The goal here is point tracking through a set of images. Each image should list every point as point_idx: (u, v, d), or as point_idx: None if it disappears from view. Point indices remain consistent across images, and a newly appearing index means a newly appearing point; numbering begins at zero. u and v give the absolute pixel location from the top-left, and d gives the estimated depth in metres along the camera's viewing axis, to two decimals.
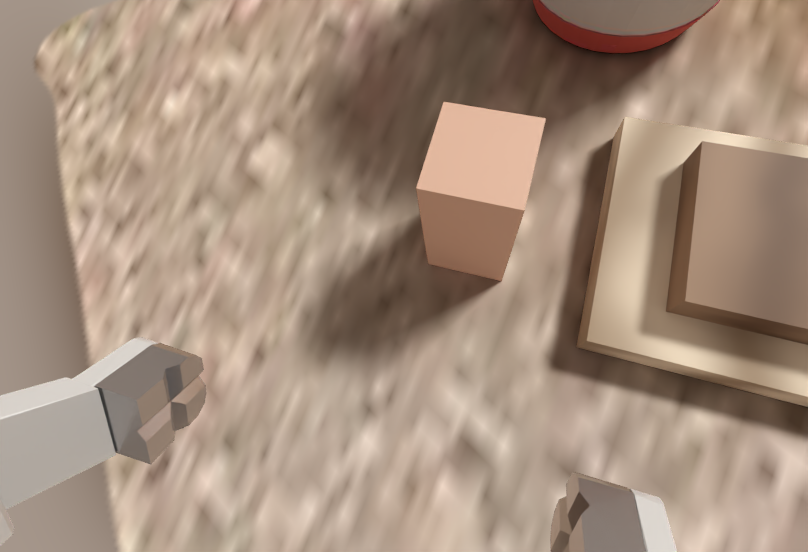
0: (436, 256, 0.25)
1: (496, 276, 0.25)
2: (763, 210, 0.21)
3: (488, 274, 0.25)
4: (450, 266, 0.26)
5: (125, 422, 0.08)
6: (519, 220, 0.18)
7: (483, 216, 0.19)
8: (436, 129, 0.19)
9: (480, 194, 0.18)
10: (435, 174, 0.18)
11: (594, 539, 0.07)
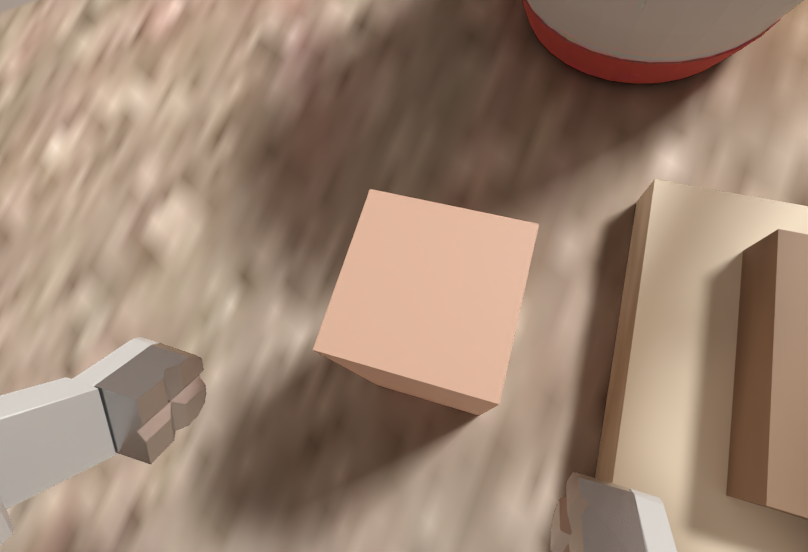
0: (383, 385, 0.17)
1: (470, 412, 0.17)
2: None
3: (459, 409, 0.18)
4: (406, 393, 0.18)
5: (125, 422, 0.08)
6: (492, 405, 0.10)
7: (432, 388, 0.11)
8: (355, 238, 0.11)
9: (423, 367, 0.10)
10: (348, 324, 0.11)
11: (594, 539, 0.07)
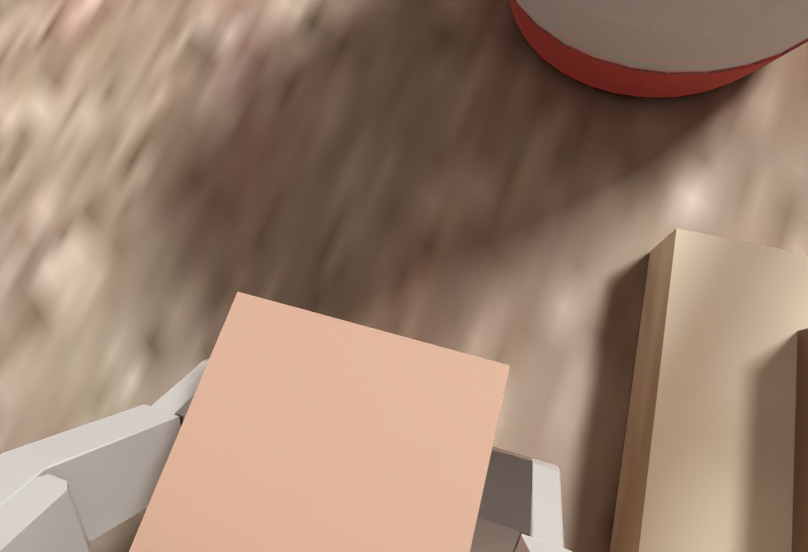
0: None
1: None
2: None
3: None
4: None
5: None
6: None
7: None
8: (204, 382, 0.07)
9: None
10: (175, 548, 0.06)
11: (483, 502, 0.07)
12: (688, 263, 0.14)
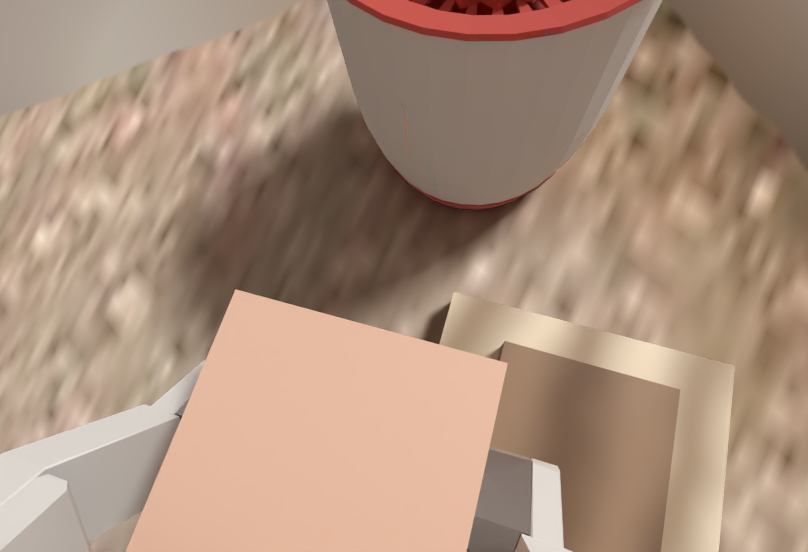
0: None
1: None
2: (548, 422, 0.22)
3: None
4: None
5: None
6: None
7: None
8: (202, 379, 0.07)
9: None
10: (174, 545, 0.06)
11: (483, 502, 0.07)
12: (456, 311, 0.27)
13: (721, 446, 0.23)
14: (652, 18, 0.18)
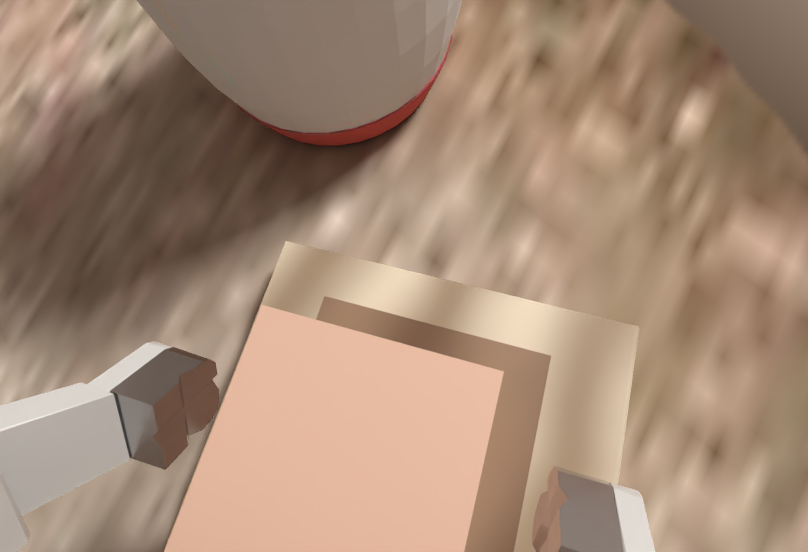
0: None
1: None
2: None
3: None
4: None
5: (140, 427, 0.08)
6: None
7: None
8: (233, 385, 0.08)
9: None
10: (212, 531, 0.07)
11: (571, 531, 0.07)
12: (286, 264, 0.20)
13: (615, 435, 0.17)
14: None
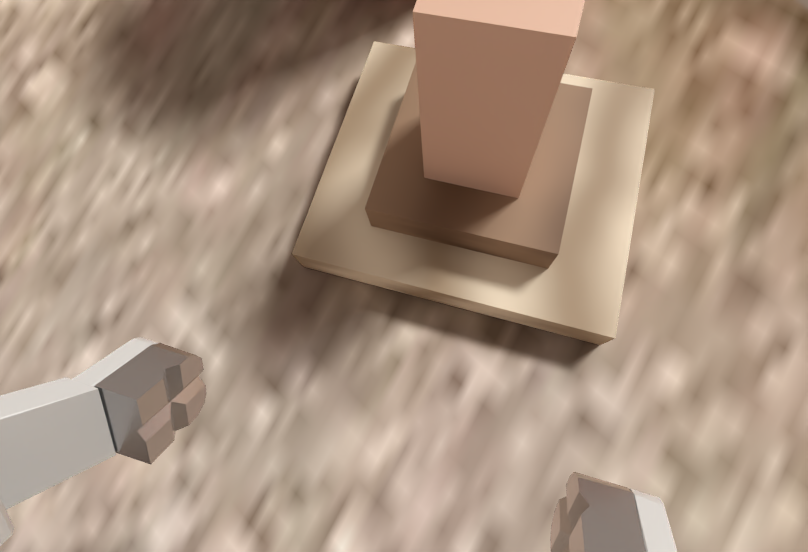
0: (435, 161, 0.19)
1: (512, 189, 0.19)
2: None
3: (502, 187, 0.20)
4: (453, 178, 0.20)
5: (125, 422, 0.08)
6: (564, 63, 0.12)
7: (509, 64, 0.13)
8: None
9: (509, 17, 0.12)
10: None
11: (594, 539, 0.07)
12: (375, 57, 0.26)
13: (637, 158, 0.22)
14: None
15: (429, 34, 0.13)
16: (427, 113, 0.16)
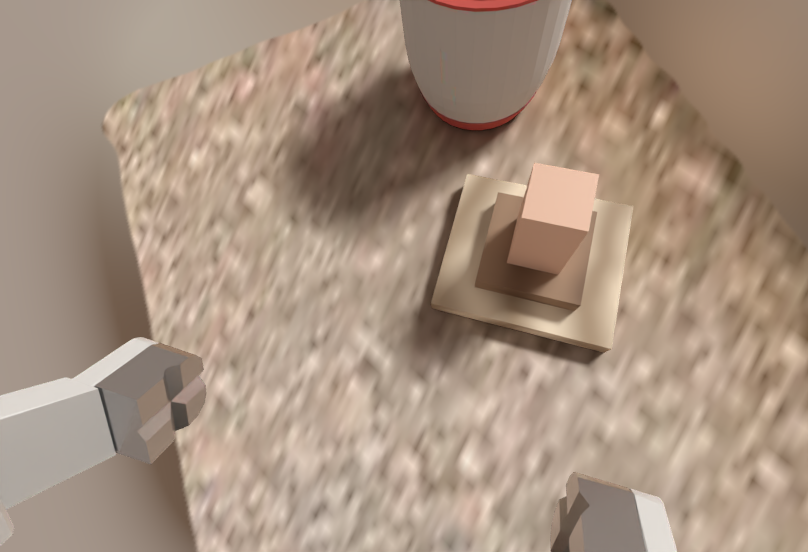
0: (515, 258, 0.37)
1: (555, 271, 0.37)
2: None
3: (550, 270, 0.37)
4: (523, 264, 0.38)
5: (125, 422, 0.08)
6: (583, 236, 0.30)
7: (560, 234, 0.31)
8: (531, 180, 0.31)
9: (561, 221, 0.30)
10: (533, 209, 0.30)
11: (594, 539, 0.07)
12: (468, 184, 0.44)
13: (623, 247, 0.40)
14: (567, 2, 0.35)
15: (526, 223, 0.31)
16: (517, 242, 0.34)
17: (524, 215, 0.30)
